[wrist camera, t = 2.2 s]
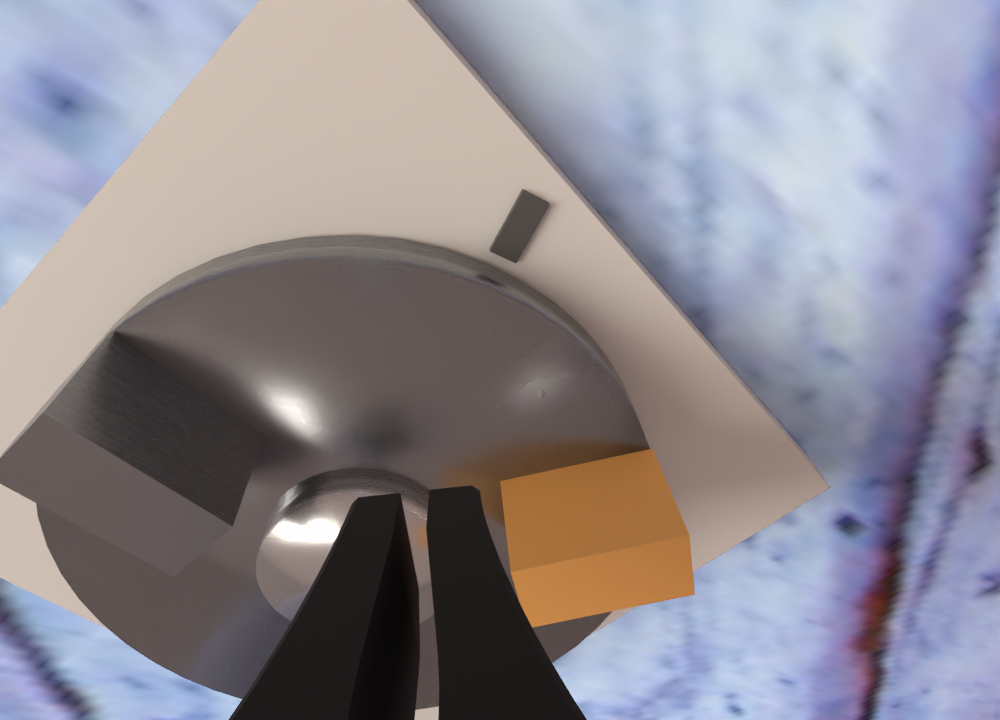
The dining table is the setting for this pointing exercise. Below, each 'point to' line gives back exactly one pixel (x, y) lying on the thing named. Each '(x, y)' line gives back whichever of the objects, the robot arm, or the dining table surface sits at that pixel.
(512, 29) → the dining table surface
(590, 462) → the rotary indexing table
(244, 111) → the plate
